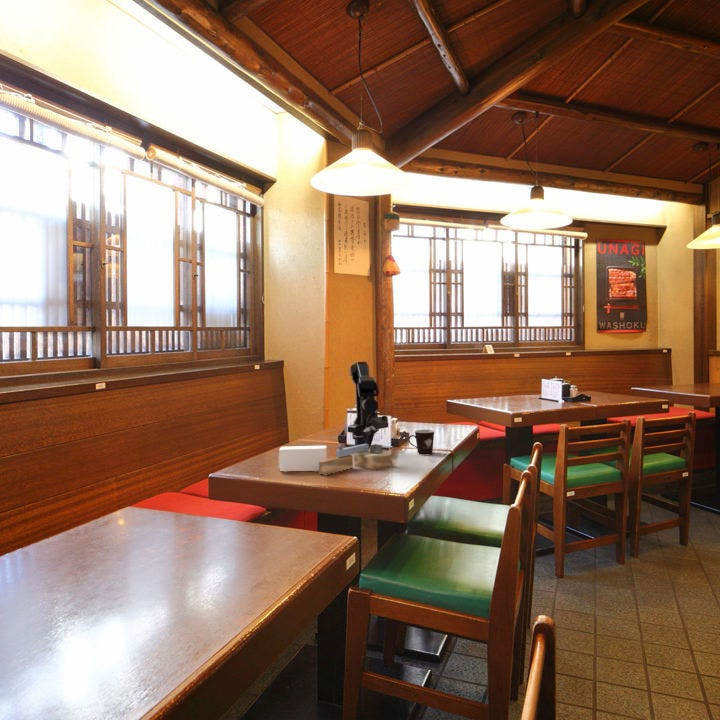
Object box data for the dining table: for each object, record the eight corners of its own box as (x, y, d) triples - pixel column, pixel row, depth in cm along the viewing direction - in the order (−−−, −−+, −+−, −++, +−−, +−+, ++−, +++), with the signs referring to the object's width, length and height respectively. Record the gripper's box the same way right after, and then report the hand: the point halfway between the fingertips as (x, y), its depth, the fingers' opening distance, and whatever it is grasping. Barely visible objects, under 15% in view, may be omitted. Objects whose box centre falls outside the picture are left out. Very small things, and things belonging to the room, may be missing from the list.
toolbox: (354, 465, 229) (354, 455, 228) (372, 461, 235) (371, 450, 235) (374, 470, 220) (374, 459, 220) (392, 465, 226) (392, 454, 226)
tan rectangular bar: (319, 474, 216) (318, 461, 216) (348, 467, 226) (347, 454, 226) (323, 475, 214) (323, 462, 214) (352, 468, 224) (352, 455, 224)
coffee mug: (434, 451, 252) (434, 429, 251) (435, 455, 243) (434, 432, 243) (408, 451, 253) (408, 429, 252) (408, 455, 244) (407, 433, 244)
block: (336, 456, 221) (335, 444, 221) (365, 449, 232) (365, 438, 232) (339, 456, 220) (339, 445, 220) (368, 450, 231) (368, 439, 230)
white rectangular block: (328, 468, 226) (327, 445, 226) (326, 471, 221) (326, 448, 220) (279, 469, 227) (278, 446, 226) (276, 473, 221) (275, 449, 221)
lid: (354, 456, 228) (354, 444, 228) (371, 452, 235) (371, 441, 235) (374, 460, 220) (374, 448, 220) (391, 456, 226) (391, 444, 226)
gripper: (364, 413, 219) (366, 453, 220) (397, 408, 232) (398, 445, 232) (346, 411, 227) (347, 449, 228) (378, 406, 240) (379, 442, 241)
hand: (369, 446), depth 232 cm, fingers closed
